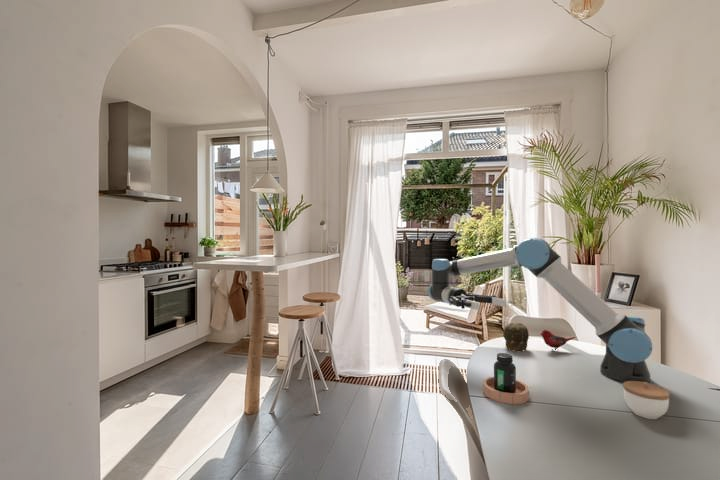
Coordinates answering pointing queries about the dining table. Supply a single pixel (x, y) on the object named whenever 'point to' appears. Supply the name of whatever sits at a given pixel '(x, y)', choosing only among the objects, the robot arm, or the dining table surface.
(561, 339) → the decorative bird figurine
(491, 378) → the terracotta dish
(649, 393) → the lidded jar
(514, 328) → the brown rounded lump
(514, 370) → the supplement bottle
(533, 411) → the dining table surface
